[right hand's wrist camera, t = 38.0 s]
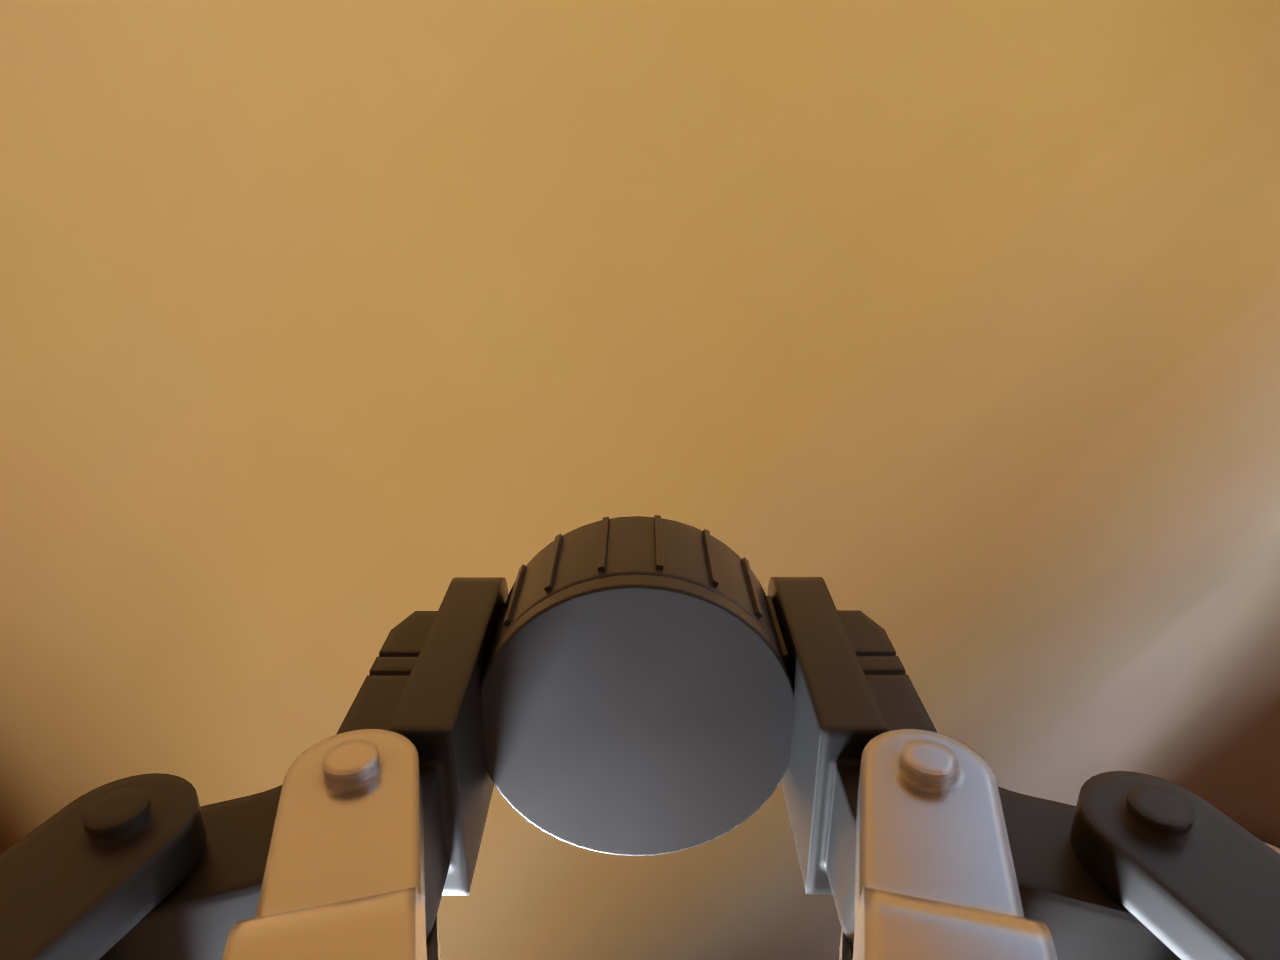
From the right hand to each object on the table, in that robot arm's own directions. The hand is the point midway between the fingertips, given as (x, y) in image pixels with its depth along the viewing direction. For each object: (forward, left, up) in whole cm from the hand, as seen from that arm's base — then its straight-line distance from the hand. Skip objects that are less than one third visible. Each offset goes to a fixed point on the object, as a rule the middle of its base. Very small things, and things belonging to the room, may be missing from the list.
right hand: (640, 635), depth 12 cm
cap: (0, 0, +2) cm, 2 cm away
